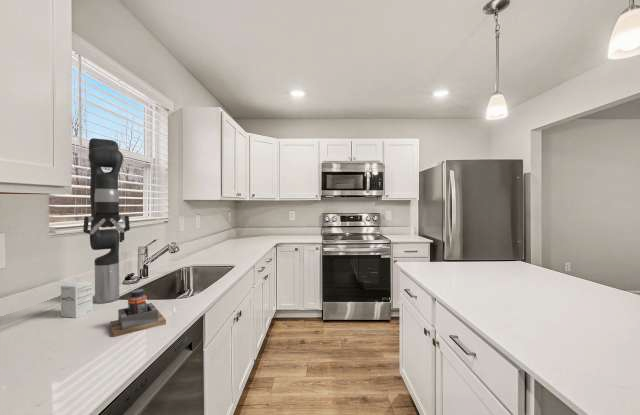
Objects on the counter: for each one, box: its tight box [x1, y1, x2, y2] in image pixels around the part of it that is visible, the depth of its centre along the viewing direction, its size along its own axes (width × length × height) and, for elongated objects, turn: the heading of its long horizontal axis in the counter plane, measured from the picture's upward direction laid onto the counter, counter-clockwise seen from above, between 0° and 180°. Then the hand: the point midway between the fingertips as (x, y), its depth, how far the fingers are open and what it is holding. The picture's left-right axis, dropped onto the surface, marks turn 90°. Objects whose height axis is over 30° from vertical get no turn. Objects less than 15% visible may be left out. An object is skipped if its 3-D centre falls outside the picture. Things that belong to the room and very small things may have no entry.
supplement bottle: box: [127, 288, 148, 316], centre depth 107 cm, size 6×6×11 cm
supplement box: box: [60, 280, 94, 319], centre depth 118 cm, size 7×7×13 cm
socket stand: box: [109, 302, 167, 338], centre depth 107 cm, size 12×16×6 cm
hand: (107, 243), depth 111 cm, fingers open, 8 cm apart
